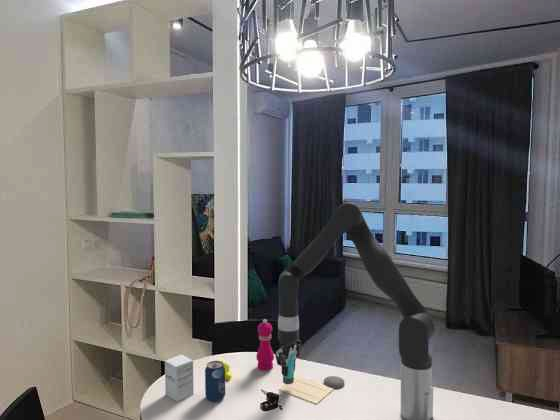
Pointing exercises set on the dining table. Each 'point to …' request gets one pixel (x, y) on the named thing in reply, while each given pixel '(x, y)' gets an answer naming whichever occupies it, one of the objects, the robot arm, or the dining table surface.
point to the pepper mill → (265, 347)
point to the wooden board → (307, 390)
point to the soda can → (215, 381)
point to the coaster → (334, 382)
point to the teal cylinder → (290, 369)
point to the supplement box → (179, 377)
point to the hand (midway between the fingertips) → (288, 372)
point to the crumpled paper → (226, 371)
